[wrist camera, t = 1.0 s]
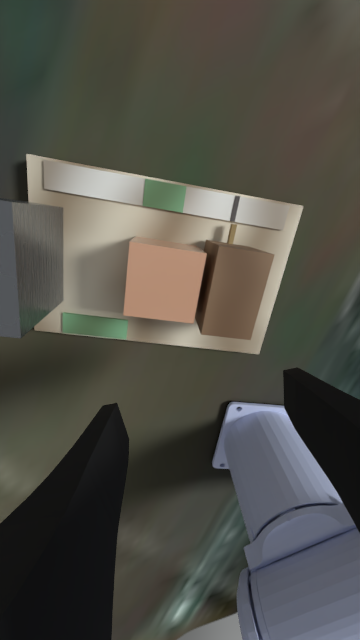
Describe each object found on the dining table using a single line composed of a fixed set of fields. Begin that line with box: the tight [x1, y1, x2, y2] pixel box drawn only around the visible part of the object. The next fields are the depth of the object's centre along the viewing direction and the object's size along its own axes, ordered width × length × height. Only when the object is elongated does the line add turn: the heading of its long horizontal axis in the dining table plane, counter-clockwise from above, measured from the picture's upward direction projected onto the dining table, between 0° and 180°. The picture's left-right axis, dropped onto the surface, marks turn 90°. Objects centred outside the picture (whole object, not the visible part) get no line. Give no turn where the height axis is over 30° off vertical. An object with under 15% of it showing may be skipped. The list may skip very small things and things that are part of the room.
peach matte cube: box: [123, 236, 207, 324], centre depth 16 cm, size 4×4×4 cm
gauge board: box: [26, 154, 303, 354], centre depth 18 cm, size 17×11×1 cm, turn 81°
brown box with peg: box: [195, 224, 274, 340], centre depth 16 cm, size 3×6×4 cm, turn 171°
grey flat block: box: [0, 198, 64, 338], centre depth 14 cm, size 2×6×7 cm, turn 171°
